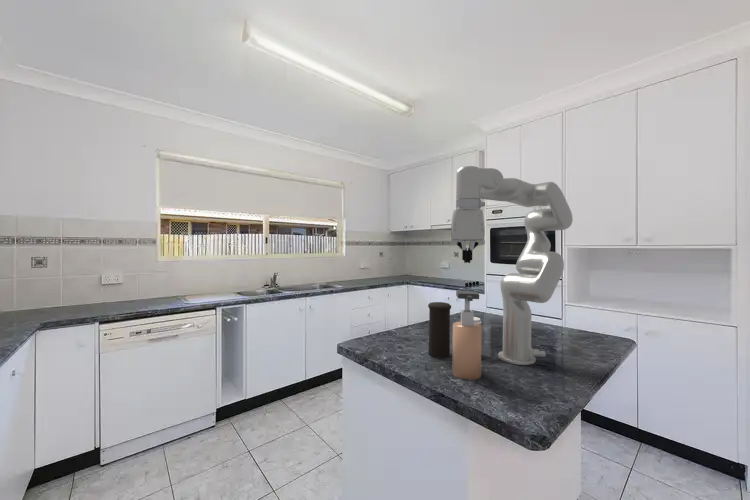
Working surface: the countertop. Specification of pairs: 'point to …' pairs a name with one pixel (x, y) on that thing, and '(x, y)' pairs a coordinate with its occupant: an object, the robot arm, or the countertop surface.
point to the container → (439, 329)
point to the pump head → (467, 297)
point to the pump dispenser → (466, 347)
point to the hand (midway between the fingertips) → (467, 262)
